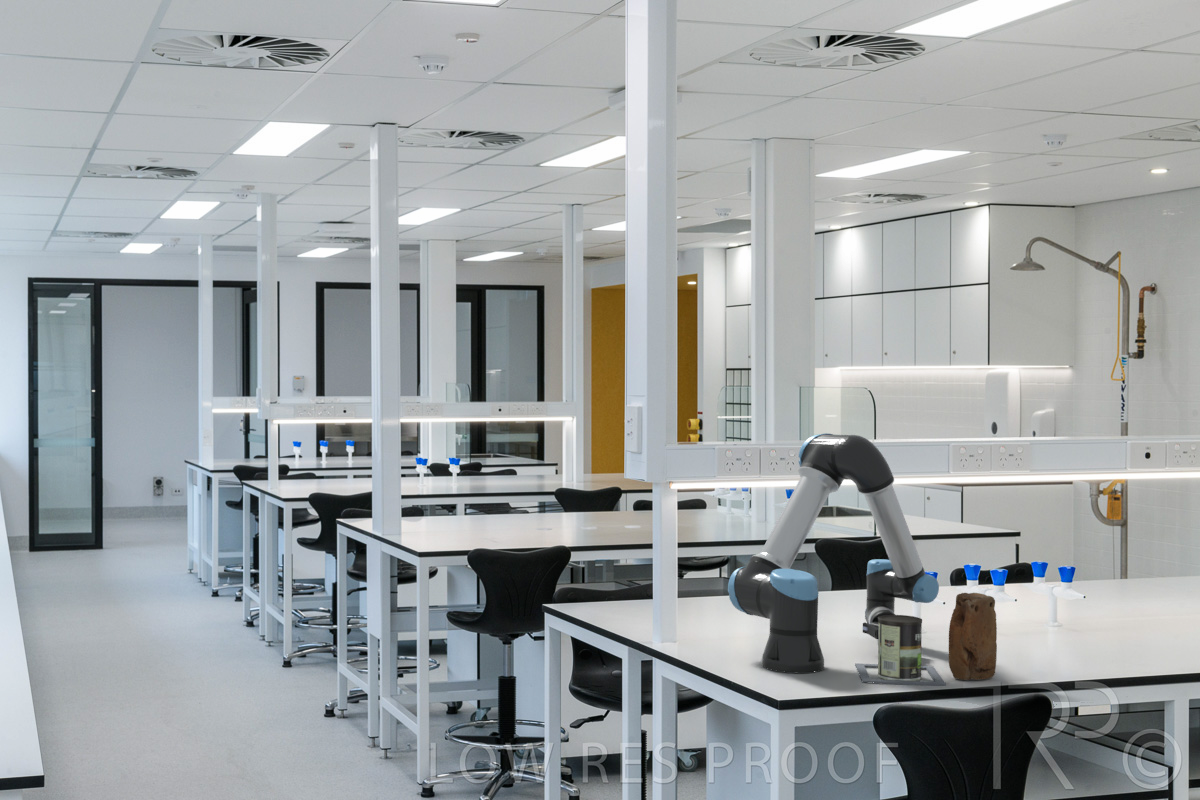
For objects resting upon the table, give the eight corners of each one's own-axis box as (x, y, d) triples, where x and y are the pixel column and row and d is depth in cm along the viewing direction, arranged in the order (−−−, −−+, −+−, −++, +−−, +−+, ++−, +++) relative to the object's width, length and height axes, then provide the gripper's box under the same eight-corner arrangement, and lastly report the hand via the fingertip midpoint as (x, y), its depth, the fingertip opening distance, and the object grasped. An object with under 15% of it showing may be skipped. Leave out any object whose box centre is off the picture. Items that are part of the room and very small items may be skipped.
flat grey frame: (862, 682, 283) (862, 680, 283) (855, 665, 302) (855, 663, 302) (946, 686, 281) (946, 683, 281) (933, 668, 300) (933, 666, 300)
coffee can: (922, 674, 293) (923, 616, 293) (920, 683, 283) (921, 623, 283) (879, 670, 296) (879, 613, 296) (875, 680, 286) (876, 620, 286)
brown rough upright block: (975, 672, 295) (976, 590, 295) (999, 679, 289) (1000, 595, 289) (943, 677, 290) (944, 593, 290) (967, 683, 283) (968, 598, 283)
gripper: (908, 638, 323) (921, 656, 299) (859, 636, 324) (867, 654, 301) (909, 610, 323) (921, 626, 299) (859, 608, 324) (867, 624, 301)
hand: (894, 640), depth 300 cm, fingers closed
